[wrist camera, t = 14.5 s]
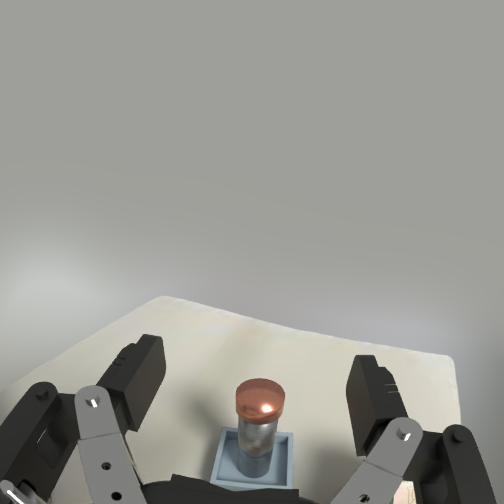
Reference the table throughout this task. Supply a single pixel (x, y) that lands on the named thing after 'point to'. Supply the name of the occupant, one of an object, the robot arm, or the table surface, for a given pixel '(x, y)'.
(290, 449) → the tray
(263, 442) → the pin
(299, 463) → the table surface
